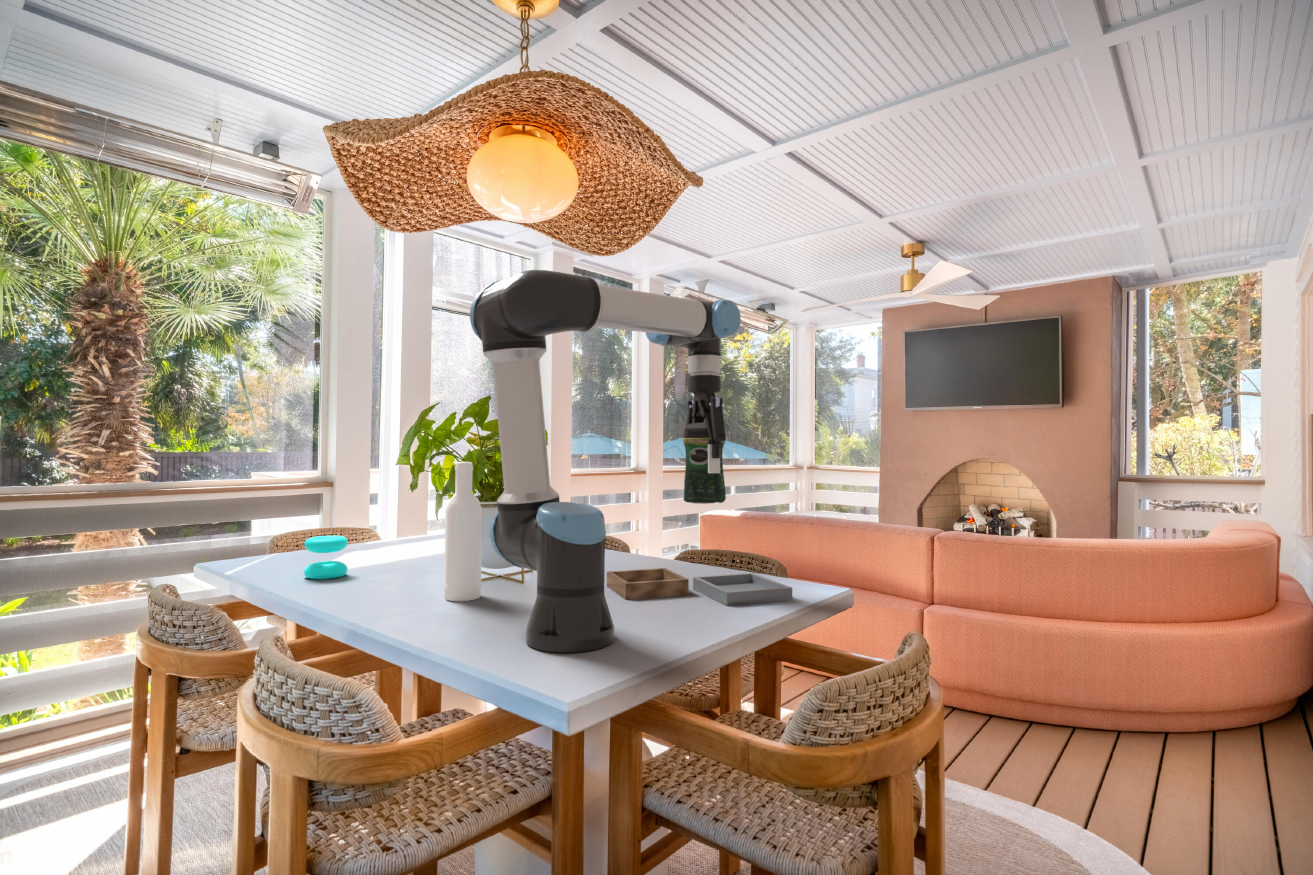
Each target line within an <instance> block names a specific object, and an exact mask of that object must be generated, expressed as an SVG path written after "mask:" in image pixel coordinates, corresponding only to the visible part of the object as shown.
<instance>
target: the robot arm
mask: <svg viewBox="0 0 1313 875" xmlns="http://www.w3.org/2000/svg"><path fill="white" fill-rule="evenodd" d="M741 316H742V315H741V311H740V309H739V307H738V306H737V304H736V303H735V302H734V301H732V300H729V299H716V300H715V301H705V300H697V299H696V300H695V299H690V298H684V297H678V296H672V295H667V294H666V295H663V294H661V293H653V292H646V291H641V290H640V291H639V290H636V289H635V290H634V289H628V288H627V289H626V288H621V287H614V286H608V285H604V284H603V285H602V284H599V282H597V280H596V279H594V278H593V277H589V276H584V275H577V274H572V273H567V272H560V271H555V270H554V271H553V270H545V269H530V270H529V269H528V270H525V271H523V270H522V271H521V272H519V273H516V274H515V275H511V276H509V277H506V278H505V279H501V280H496V281H494V282H492V283H489V285H488V284H487V286H485V287H484V288H483V289H482V290H480V291H479V292H478V293H477V294H476V295H475V297H474V298H473V301H472V304H471V305H470V310H469V321H470V324H471V328H472V331H473V333H474V334H475V335H476V336H477V338H479V340H480V341H481V345H482V352H483V356H484V357H485V358H487V359H488V360H489V361H490V362H491V364H492V369H493V370H492V371H493V381H494V391H495V394H494V395H495V403H496V414H497V424H498V426H497V427H498V435H499V436H498V438H499V445H500V446H499V447H500V457H501V467H502V478H503V492H502V493H501V495H500V496H499V497H498V498H497V499H496V503H497V505H496V506H497V513H496V514H495V517H494V518H493V519H492V521H491V524H490V529H489V530H490V531H489V536H490V543H491V546H492V548H493V550H494V552H496V554H497V555H498V557H500V558H501V559H502V560H503V561H505V562H506V563H507V562H508V563H509V564H510V565H512V566H514V567H517V568H520V569H522V568H523V569H528V570H531V571H535V572H536V573H537V574H536V583H537V584H536V599H535V601H534V604H533V607H532V611H531V613H530V617H529V619H528V622H527V626H526V632H525V635H526V636H525V640H526V641H525V643H526V644H527V645H528V646H529V647H531V648H533V649H535V650H540V651H543V652H552V653H582V652H591V651H595V650H598V649H601V648H604V647H605V648H606V647H607V646H610V645H611V644H612V643H613V642H614V640H615V625H614V623H613V619H612V615H611V611H610V609H609V605H608V602H607V598H606V596H605V576H606V575H605V573H606V572H605V570H606V568H605V564H606V563H605V559H606V558H605V557H606V556H605V555H606V535H607V530H606V525H605V522H606V521H605V516H604V513H603V512H602V510H600V508H597V507H596V506H593V505H590V504H585V503H577V502H572V501H571V502H570V501H560V493H558V491H556V490H555V489H554V488H553V487H552V486H551V483H550V480H551V479H550V466H549V457H548V445H547V435H546V424H545V410H544V401H543V400H544V399H543V388H542V378H541V367H540V360H541V358H542V357H543V356H544V354H545V353H546V352H547V340H546V336H549V335H554V334H560V333H565V332H584V333H585V332H590V331H592V329H594V328H601V329H611V330H620V331H629V332H639V333H640V332H641V333H645V336H646V338H647V339H648V341H649V342H651V343H652V344H655V345H659V346H662V347H663V346H666V347H667V346H669V347H679V348H685V349H686V348H687V353H688V354H687V373H688V374H689V375H690V376H688V379H687V380H688V382H687V384H688V385H687V390H688V392H689V393H691V394H694V395H693V399H692V400H687V414H686V416H687V417H686V424H692V423H706V427H707V432H708V436H709V441H708V442H707V444H708V473H720V444H721V443H722V441H725V442H726V440H727V439H726V430H725V421H724V418H725V417H724V411H723V403H724V401H723V400H724V399H723V397H718V396H716V393H720V392H721V390H722V389H721V388H722V387H721V386H722V384H721V383H722V382H721V381H722V377H721V376H719V375H720V374H721V366H722V362H721V354H722V353H721V344H722V342H721V339H725V338H728V337H732V336H733V335H735V334H737V333H738V331H739V329H740V327H741V324H742V323H741V322H742V321H741V320H742V319H741ZM686 424H685V425H686Z"/></svg>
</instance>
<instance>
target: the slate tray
mask: <svg viewBox="0 0 1313 875" xmlns="http://www.w3.org/2000/svg"><path fill="white" fill-rule="evenodd" d="M692 589H693V590H694V591H695V592H696V591H697V592H698V593H700V594H702V595H704V596H706V597H708V598H711V599H712V600H713V601H716V602H718V603H720V604H721V605H722V604H723V605H724V606H726V607H728V606H729V607H730V606H741V605H754V604H763V603H764V604H765V603H774V602H775V603H777V602H788V601H789V602H791V601H793V587H792V586H789V585H786V584H784V583H782V582H778V581H776V580H774V579H770V578H767V577H764V576H762V575H760V574H757V573H755V572H750V573H735V574H734V573H731V574H717V575H703V576H693V577H692Z"/></svg>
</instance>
